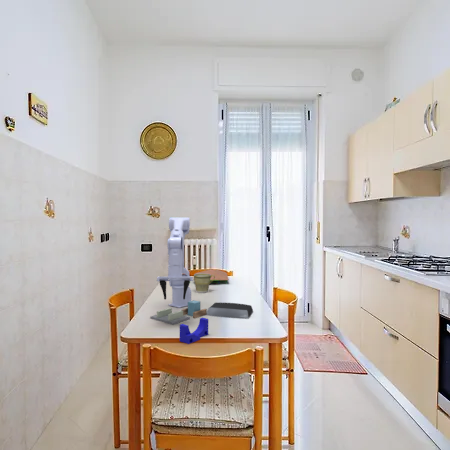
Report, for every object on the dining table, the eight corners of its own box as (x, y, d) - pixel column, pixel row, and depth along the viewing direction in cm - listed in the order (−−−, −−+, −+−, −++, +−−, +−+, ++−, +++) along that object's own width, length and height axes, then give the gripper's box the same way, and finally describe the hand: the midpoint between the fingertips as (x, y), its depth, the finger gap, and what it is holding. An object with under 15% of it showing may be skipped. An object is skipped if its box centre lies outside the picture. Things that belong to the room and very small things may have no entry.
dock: (167, 313, 163) (167, 306, 163) (189, 319, 154) (189, 311, 154) (150, 318, 155) (150, 310, 155) (173, 324, 146) (173, 316, 146)
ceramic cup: (196, 294, 202) (197, 276, 202) (191, 290, 212) (191, 274, 211) (218, 292, 208) (218, 275, 207) (211, 289, 217) (211, 272, 217)
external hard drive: (248, 320, 155) (248, 311, 155) (205, 316, 160) (205, 307, 160) (253, 312, 167) (253, 303, 167) (214, 309, 173) (214, 300, 172)
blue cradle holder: (188, 344, 125) (188, 327, 125) (179, 341, 128) (179, 324, 127) (211, 335, 134) (211, 319, 134) (202, 333, 137) (202, 317, 137)
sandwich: (193, 285, 229) (193, 273, 228) (195, 276, 262) (195, 265, 261) (229, 285, 230) (229, 273, 230) (226, 276, 263) (226, 265, 262)
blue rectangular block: (193, 313, 164) (193, 300, 163) (200, 314, 161) (200, 301, 161) (187, 315, 160) (187, 301, 160) (194, 316, 158) (194, 303, 158)
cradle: (193, 311, 166) (193, 306, 166) (206, 314, 162) (206, 309, 162) (181, 315, 160) (181, 309, 160) (194, 318, 155) (194, 312, 155)
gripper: (156, 265, 143) (155, 300, 142) (192, 265, 144) (192, 299, 143) (158, 265, 150) (157, 298, 148) (192, 265, 151) (192, 298, 150)
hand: (174, 299), depth 146 cm, fingers open, 7 cm apart
